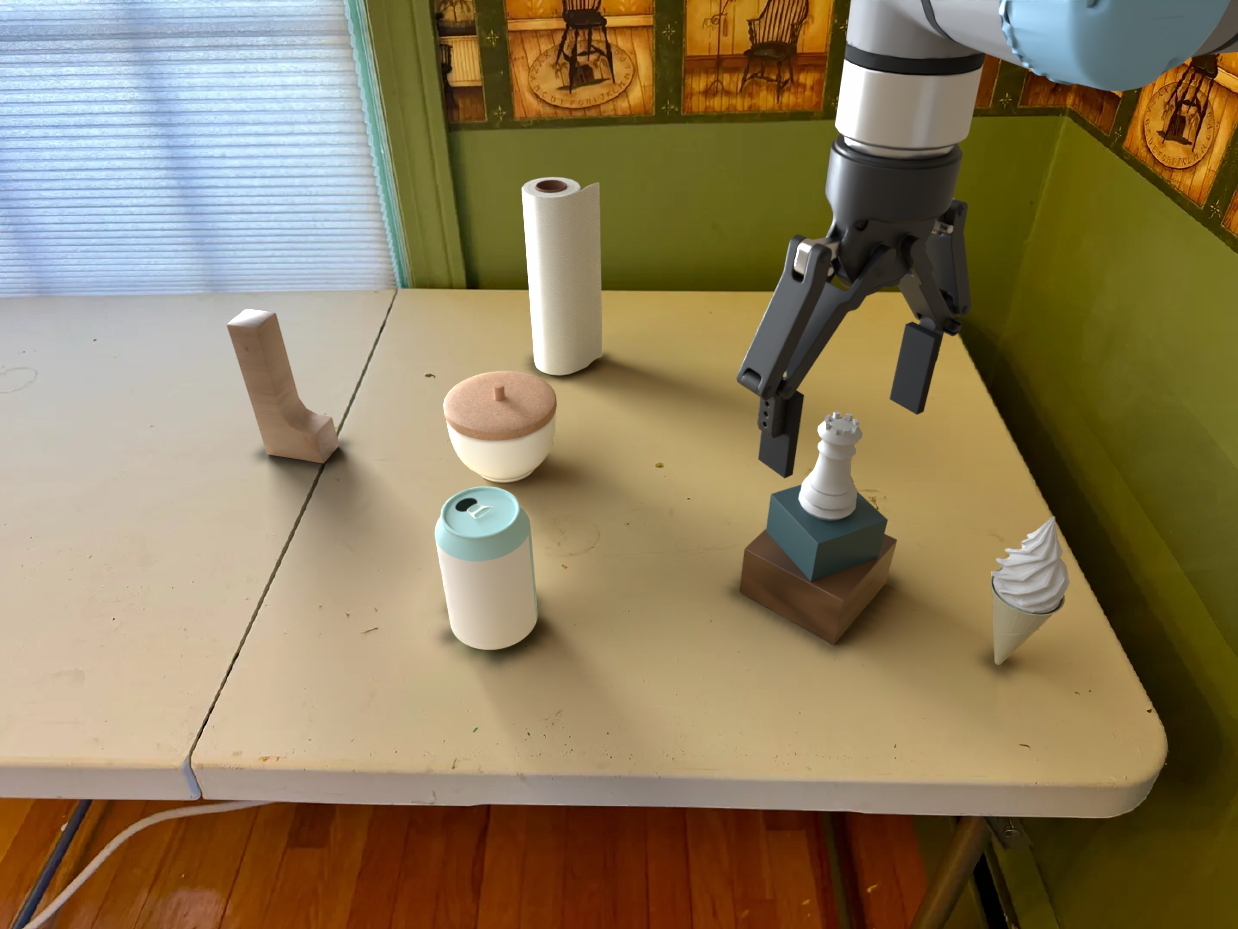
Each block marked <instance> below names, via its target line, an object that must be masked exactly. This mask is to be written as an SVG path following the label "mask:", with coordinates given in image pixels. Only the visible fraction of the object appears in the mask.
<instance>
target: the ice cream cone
mask: <svg viewBox="0 0 1238 929" xmlns="http://www.w3.org/2000/svg"><path fill="white" fill-rule="evenodd" d="M1056 524H1057V523H1056V516H1054V515H1053V516H1051V518H1049V520H1047V521H1046V522H1045V523H1044V524H1042V525H1041V526H1040V527H1039V528H1038V529H1036V530H1035V531H1033V532H1030V533H1028V534H1026V536H1027V538H1025V539H1023V540H1021V542H1020V543H1021V548H1020V549H1016V548H1015V547H1007V548H1005V549H1004V551H1005V552H1006V554H1009V556H1008V557H1007V558H1001V557H997V558H996V559H995V561H996V563H997V564H998V565H1000V566H1001V567H999V568H997V569H995V570H991V572H990V574H991V576H990V579H989V582H990V588H991V591H992V596H991V597H992V621H993V622H992V627H993V628H992V629H993V653H994V654H993V656H994V659H993V660H994V663H995V665H997V666H1000V665H1002V664H1003V663H1004V662H1005V661H1006V660H1007V659H1009V657H1010V656H1011V655H1012V654H1013V653H1015V652H1016V650H1018V649H1019V648H1020V647H1021V646H1022V645H1023V644H1024V643H1025V642H1026V641H1027V640H1028V639H1029V638H1030V637H1031V636H1032V635H1033V634H1034V633H1035V632H1037V630H1038V629H1040V628H1041V627H1042V626H1043V625H1044V624H1045V623H1046V622H1047V620H1049V618H1051V617H1052V616H1053V615H1054V614H1056V613H1058V612H1059V611H1060V610H1061V609H1062V608H1063V607H1064V606H1065V603H1066V595H1065V594H1066V592H1067V589H1068V588H1069V585H1070V584H1071V583H1070V582H1071V580H1070V575H1069V571H1068V566H1067V564H1066V563H1065V561H1064V560H1063V559H1062V558H1061V557H1062V556H1063V554H1064V551H1063V550H1064V549H1063V547H1062V546H1061V543H1060V540H1059V538H1058V533H1057V532H1058V531H1057V527H1056V526H1057V525H1056Z"/></svg>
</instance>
